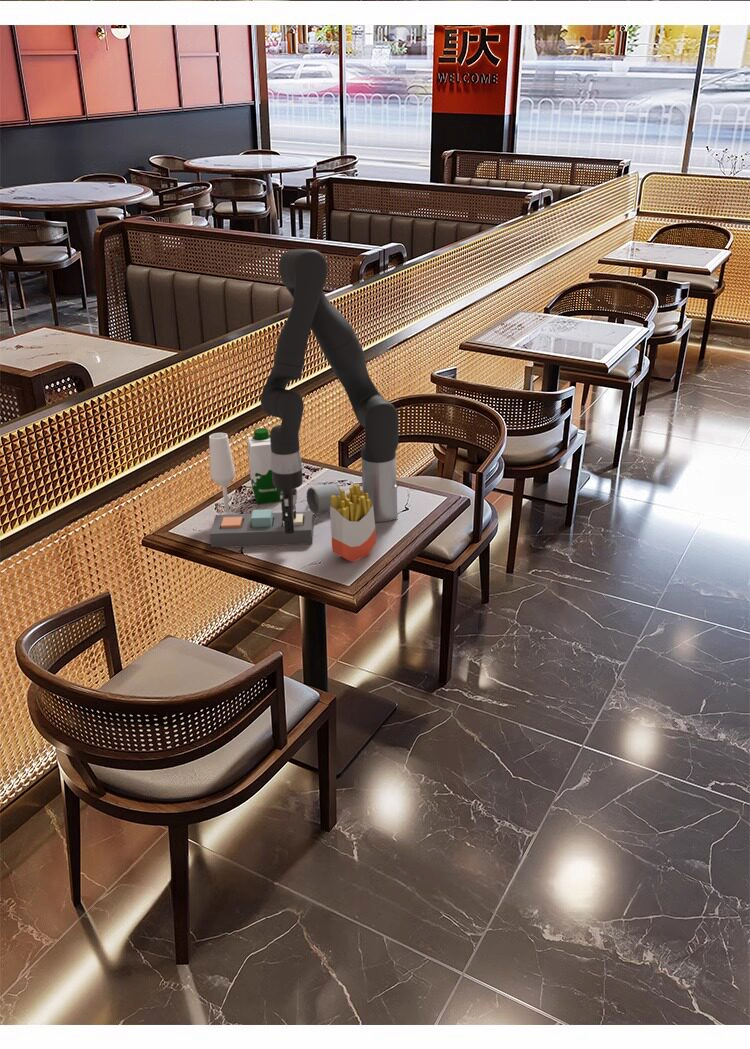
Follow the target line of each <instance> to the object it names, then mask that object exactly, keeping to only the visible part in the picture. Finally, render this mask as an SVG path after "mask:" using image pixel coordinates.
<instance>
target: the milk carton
mask: <svg viewBox="0 0 750 1049" xmlns="http://www.w3.org/2000/svg"><path fill="white" fill-rule="evenodd" d="M247 455H248V465H249V467H248V468H249V477H250V485H251V487H252V488H251V489H252V490H253V494H254V498H255V501H256V504H257V505H264V504H265V505H266V504H273V503H274V504H275V503H281V499H280V493H281V489H278V488H276V487H274V485H273V481H272V468H271V443H270V433H269V429H268V428H263V427H262V428H256V429H254V430H253V435H252V436H248V437H247Z"/></svg>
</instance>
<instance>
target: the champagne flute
mask: <svg viewBox="0 0 750 1049" xmlns="http://www.w3.org/2000/svg"><path fill="white" fill-rule="evenodd" d="M208 440H209V443H208V444H209V472H210V473H209V475H210V478H211V480H212V481H213V482H214V483H216V484H217V485H219V486H220V487H221V489H222V496H223V497H222V498H223V504H224V505H223V506H224V511H223V512H222V513H220V514H219V515H229V514H238V513H236V512H232V511H231V510H230V504H229V496H228V488H227V486H228V485H230V484H231V483H232V482H233V480H234V479H235V476H236V470H235V465H234V460H233V456H232V451H231V446H230V440H229V436H228V433H225V432H214V433H212V434H210V435H209V439H208Z"/></svg>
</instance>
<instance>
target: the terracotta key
mask: <svg viewBox="0 0 750 1049" xmlns="http://www.w3.org/2000/svg"><path fill="white" fill-rule="evenodd" d="M242 525H243V518H242V517H223V520H222V523H221V529H228V528H242Z"/></svg>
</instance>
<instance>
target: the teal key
mask: <svg viewBox="0 0 750 1049" xmlns="http://www.w3.org/2000/svg"><path fill="white" fill-rule="evenodd" d="M273 513H274V512H273V509H272V508H271V509H266V508H265V509H253V510H252V513H251V514H252V517H251V522H252V528H254V527H272V525H273Z"/></svg>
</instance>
